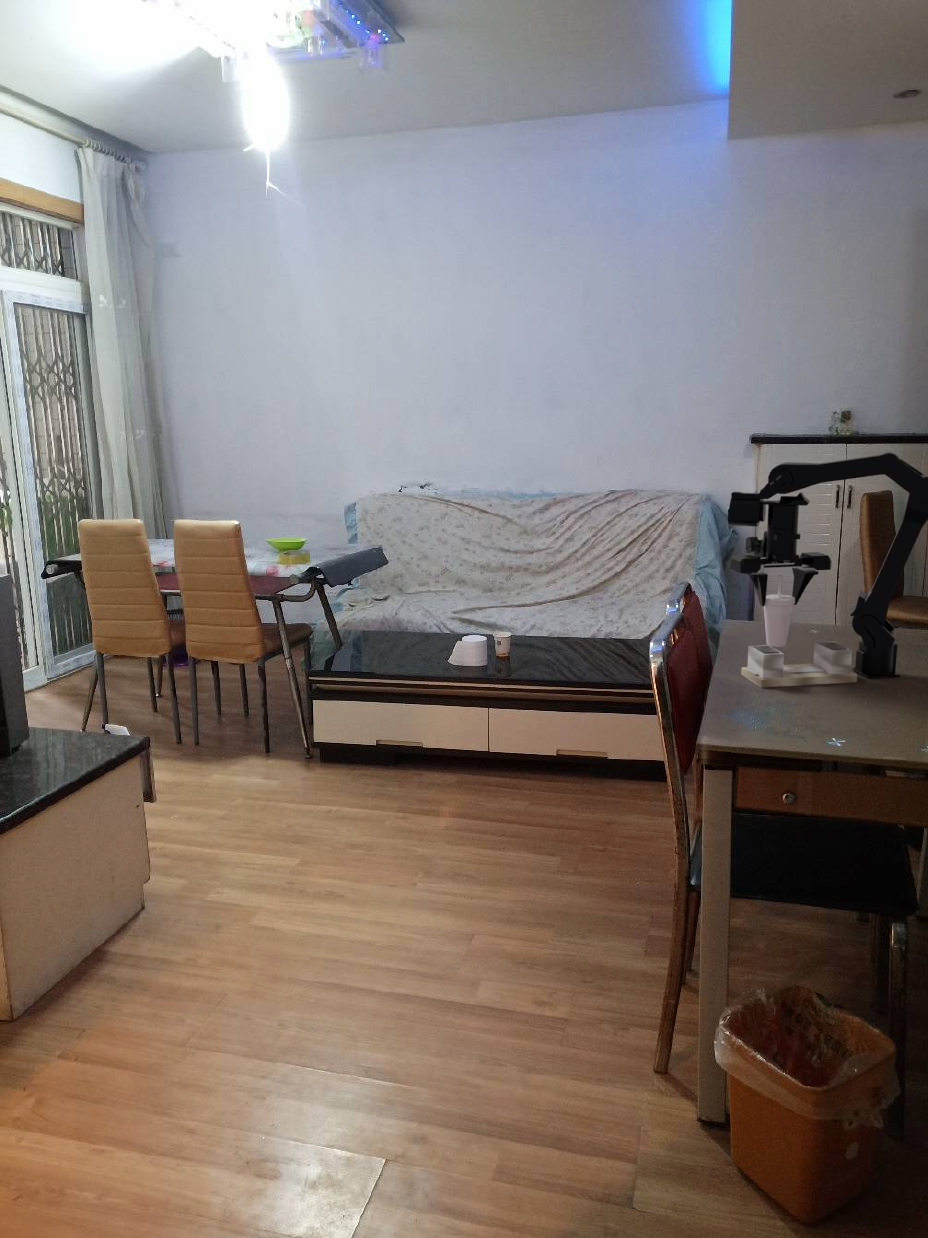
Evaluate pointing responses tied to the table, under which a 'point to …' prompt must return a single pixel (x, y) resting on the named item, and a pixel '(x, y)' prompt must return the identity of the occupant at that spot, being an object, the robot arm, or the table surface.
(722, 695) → the table surface
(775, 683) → the board
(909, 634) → the table surface
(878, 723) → the table surface
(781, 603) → the smoothie
